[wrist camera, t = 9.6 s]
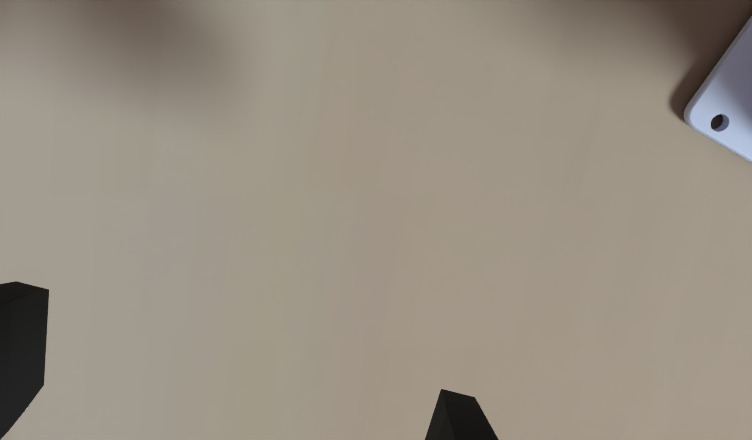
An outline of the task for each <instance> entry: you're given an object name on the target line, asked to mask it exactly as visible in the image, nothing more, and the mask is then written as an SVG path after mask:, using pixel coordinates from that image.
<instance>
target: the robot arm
mask: <svg viewBox="0 0 752 440" xmlns="http://www.w3.org/2000/svg"><path fill="white" fill-rule="evenodd" d="M719 114H721V115H722V116H723V122H722V125H721V126H720V127H718V128H717V129H712V128H711V121H712V118H714V117H715V116H716V115H719ZM684 119H685V122H686V124H687V125H688V126H690V127H691V128H692V129H694V130H696V131H698V132H699V133H701V134H703V135H705V136H706V137H708V138H710V139H711V140H713V141H715V142H717V143H718V144H720V145H722V146H724V147H725V148H727V149H729V150H730V151H732V152H734V153H736V154H737V155H739V156H741V157H743V158H744V159H746V160H748V161H749V162H751V163H752V16H751V17H750V19H749V20H748V21H747V23H746V24H745V25H744V27H743V28H742V30H741V31H740V32H739V34H738V35H737V37H736V38H735V39H734V41H733V42H732V43H731V45H730V46H729V48H728V49H727V50H726V52H725V53H724V55H723V56H722V57H721V59H720V60H719V62H718V63H717V64H716V66H715V67H714V68H713V70H712V71H711V73H710V74H709V75H708V77H707V78H706V80H705V81H704V82H703V84H702V85H701V86H700V88H699V89H698V91H697V92H696V93H695V95H694V96H693V98H692V99H691V100H690V102H689V103H688V105H687V106H686V108H685V111H684ZM48 299H49V290H48V289H44V288H40V287H36V286H32V285H28V284H24V283H20V282H10V283H5V284H0V439H1V438H2V437H3V436H4V435H5V434H6V433H7V432H8V431H9V430H10V428H11V427H12V426H13V425H14V423H15V422H16V421H17V420H18V418H19V417H20V416H21V415H22V413H23V412H24V411H25V409H26V408H27V407H28V405H29V404H30V403H31V401H32V400H33V399H34V397H35V396H36V395H37V393H38V392H39V391H40V389H41V388H42V387H43V385H44V371H45V353H46V335H47V317H48ZM425 440H498V438H497V436H496V434H495V433H494V431H493V429H492V427H491V425H490V424H489V422H488V420H487V418H486V416H485V415H484V413H483V411H482V409H481V408H480V406H479V404H478V402H477V401H476V399H475V397H471V396H467V395H463V394H459V393H455V392H451V391H447V390H443V389H441V391H440V394H439V397H438V401H437V404H436V407H435V410H434V413H433V416H432V419H431V422H430V426H429V429H428V432H427V435H426V438H425Z"/></svg>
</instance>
